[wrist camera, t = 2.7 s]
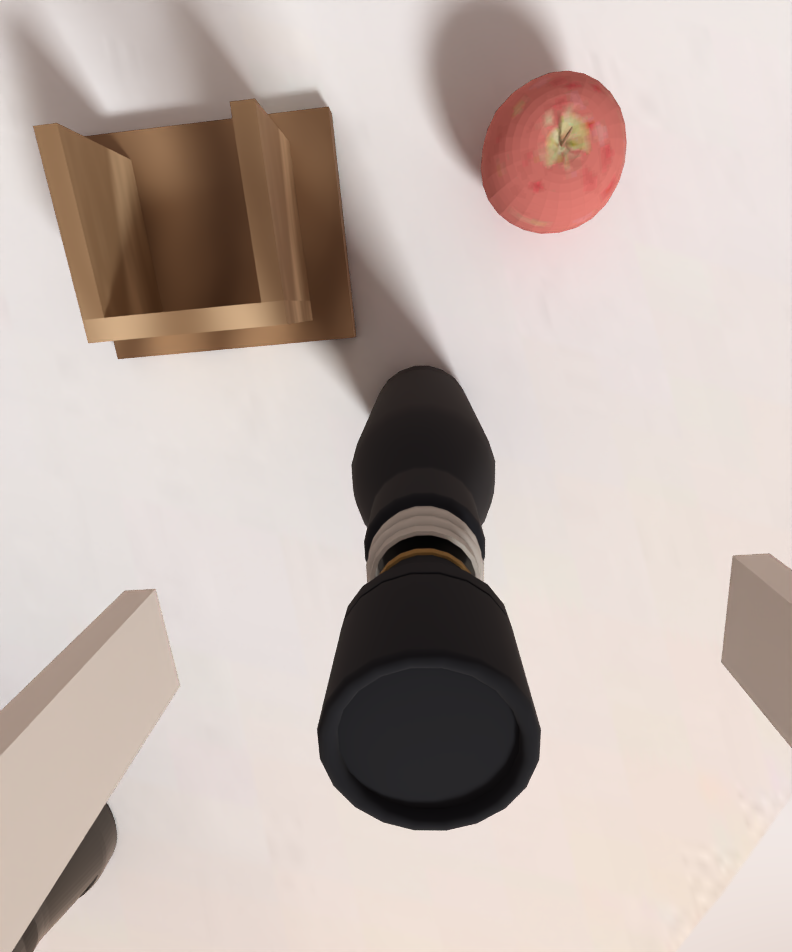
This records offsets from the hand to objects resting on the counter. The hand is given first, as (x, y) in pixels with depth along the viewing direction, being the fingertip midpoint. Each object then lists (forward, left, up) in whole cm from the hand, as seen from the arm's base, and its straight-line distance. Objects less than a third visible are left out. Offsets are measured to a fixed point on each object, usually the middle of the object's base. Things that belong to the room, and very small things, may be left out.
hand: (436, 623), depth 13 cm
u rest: (-12, +12, -26) cm, 31 cm away
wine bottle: (0, 0, -27) cm, 27 cm away
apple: (+8, +14, -27) cm, 31 cm away
